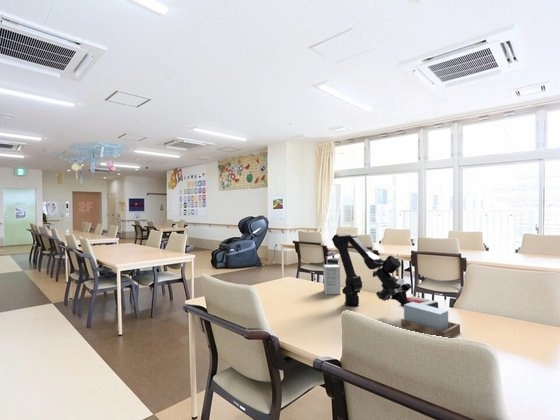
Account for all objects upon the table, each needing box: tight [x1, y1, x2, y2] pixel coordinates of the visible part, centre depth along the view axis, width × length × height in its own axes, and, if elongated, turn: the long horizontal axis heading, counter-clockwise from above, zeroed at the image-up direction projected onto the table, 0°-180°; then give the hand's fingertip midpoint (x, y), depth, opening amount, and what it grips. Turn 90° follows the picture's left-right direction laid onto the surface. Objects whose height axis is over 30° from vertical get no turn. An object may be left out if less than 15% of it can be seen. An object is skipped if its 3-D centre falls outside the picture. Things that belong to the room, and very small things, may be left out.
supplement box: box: [322, 264, 341, 295], centre depth 191 cm, size 10×9×17 cm
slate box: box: [403, 302, 449, 332], centre depth 133 cm, size 16×7×9 cm, turn 36°
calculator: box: [400, 295, 439, 308], centre depth 162 cm, size 11×4×15 cm
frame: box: [400, 318, 461, 338], centre depth 132 cm, size 18×14×3 cm
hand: (407, 307), depth 140 cm, fingers closed
